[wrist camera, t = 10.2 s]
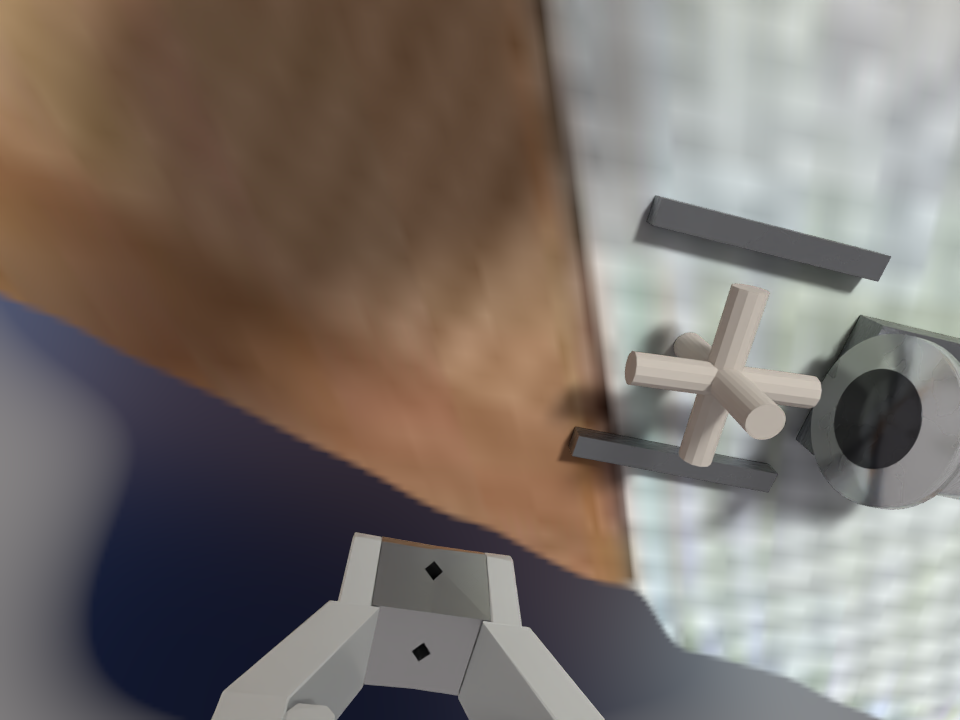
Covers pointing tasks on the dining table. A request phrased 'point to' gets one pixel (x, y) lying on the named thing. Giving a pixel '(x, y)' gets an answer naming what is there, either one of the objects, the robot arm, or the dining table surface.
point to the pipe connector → (725, 379)
